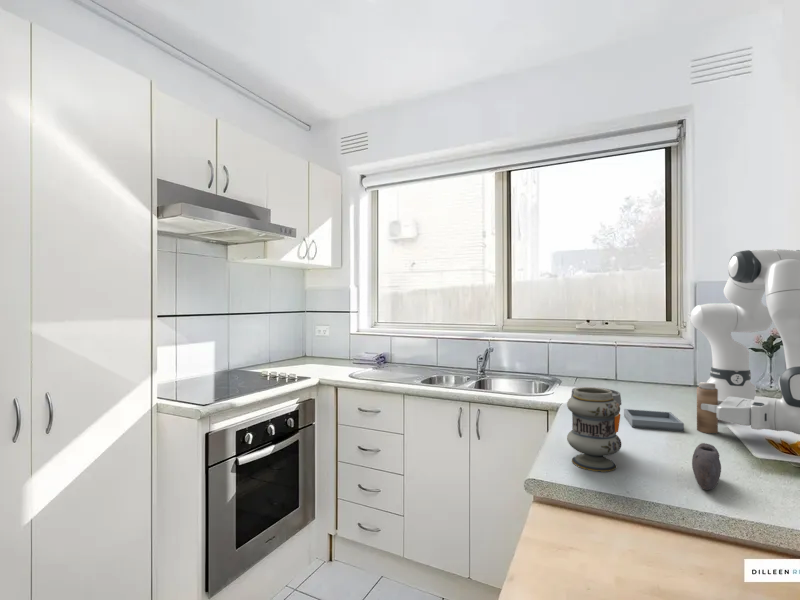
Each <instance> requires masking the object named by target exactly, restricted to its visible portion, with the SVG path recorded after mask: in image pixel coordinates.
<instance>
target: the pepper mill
mask: <svg viewBox="0 0 800 600" xmlns="http://www.w3.org/2000/svg"><path fill="white" fill-rule="evenodd" d="M706 382H707V381H706ZM706 382H704V381H703V382H698V386H697V387H696V431H698V432H701V433H705V434H710V433H716V434H718V433H719V424H718V423H719V419H718V418H717V413H714V412H711V411H708V410H702V409H701V404H702V403H707V404H711V405H718V389H716V388H715V384H713V383H706Z"/></svg>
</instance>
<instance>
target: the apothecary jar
mask: <svg viewBox="0 0 800 600" xmlns="http://www.w3.org/2000/svg"><path fill="white" fill-rule="evenodd" d="M580 387H581V388H577V387H575V388H576V389H574V394H573V397H571V396H570V397H569V399H568V400H567V402H566V407H567V409H568V411H570V412H571V415H572V418H571V419H572V421H571V422H572V423H571V424H572V426H571V427H572V429H571V430H570V431H569V432H568V433H567V435H566V441H567V443H568V445H569V446H570V447H571V448H572V449H573V450H576V451H577V452H579V453H581V454H577V455H576V456H573V457H572V459H571V462H573V463H574V465H575V464H576V465H577V466H576V465H575V466H576V467H578V466H579V467H578V468H580V467H581V468H580V469H583V468H584V469H583V470H586V469H588V470H587V471H590V470H592V471H593V472H598V471H601V473H602V472H603V473H605V472H606V471H607V472H612V471H615V470H616V469H617V465H616V463H615V462H614V461H613V460H612V459H610V458H608V457H607V456H611V455H614V454H616V453H618V452H619V451H620V449H621V448H622V441H621V438H620V437H619V436H618V434H617V433H616V434H615V416H616V415H618V414H620V412H621V405H620V406H619V404H618V403H617V402H616V401H615V400H614V399H613V396H612V391H610V390H607V389H608V388H605V389H602V388H603V387H596V388H593V387H594V386H580ZM614 469H615V470H614Z"/></svg>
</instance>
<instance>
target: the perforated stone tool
mask: <svg viewBox="0 0 800 600" xmlns="http://www.w3.org/2000/svg"><path fill="white" fill-rule="evenodd" d="M691 466H692V470H693V475H694V477H695V480H696V482H697V484H698V485H699V487H700V488H702V489H703V490H705V491H709V490H713V489H714V488H716V487H717V485H718V483H719V481H720V478H721V473H722V465H721V459H720V453H719V451H718V449H717V448H716V447H715V446H714V445H712V444H709V443H705V442H704V443H703V442H701V443H699V444H698V445H697V446H696V447H695V449H694V451H693V455H692V459H691Z"/></svg>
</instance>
